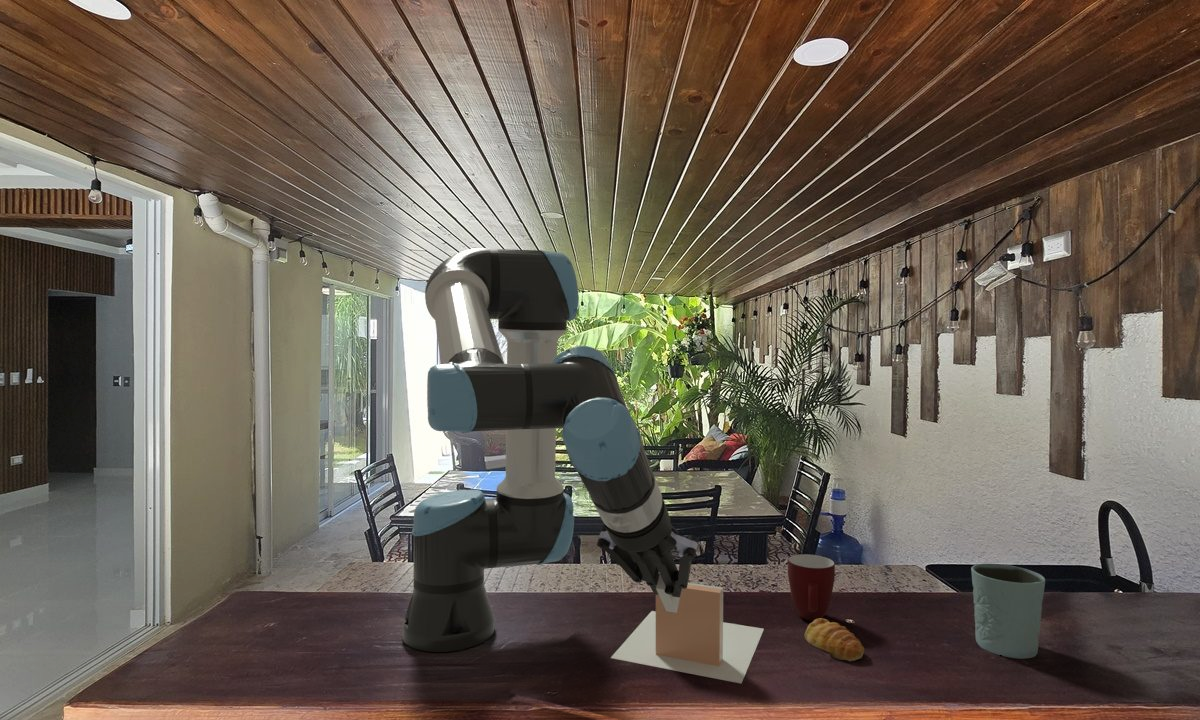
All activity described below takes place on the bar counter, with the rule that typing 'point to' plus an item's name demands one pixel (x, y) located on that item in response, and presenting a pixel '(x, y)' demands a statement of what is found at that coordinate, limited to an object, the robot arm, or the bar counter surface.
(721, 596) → the tile
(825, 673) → the bar counter surface
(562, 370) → the robot arm
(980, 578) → the green ceramic cup
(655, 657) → the mat
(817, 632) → the pastry
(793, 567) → the mug
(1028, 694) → the bar counter surface
